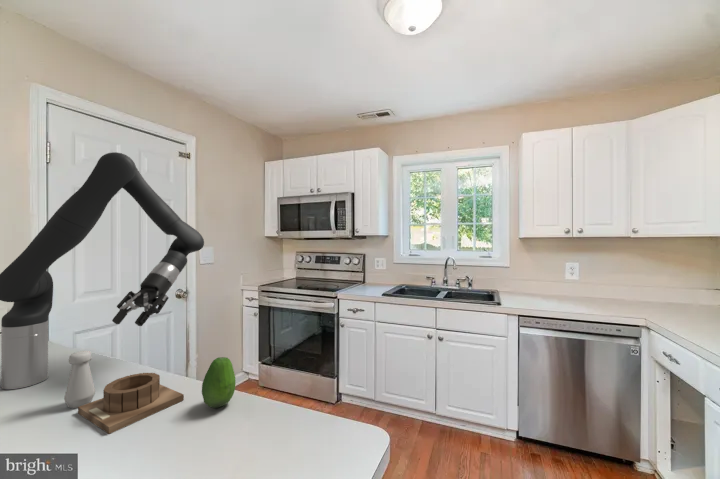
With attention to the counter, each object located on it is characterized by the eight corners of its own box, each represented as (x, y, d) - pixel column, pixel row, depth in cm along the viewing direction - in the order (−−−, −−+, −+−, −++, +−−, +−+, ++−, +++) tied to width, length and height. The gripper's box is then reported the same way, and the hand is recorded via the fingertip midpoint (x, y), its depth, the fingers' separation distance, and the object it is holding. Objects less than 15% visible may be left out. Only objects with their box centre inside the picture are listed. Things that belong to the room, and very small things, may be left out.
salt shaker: (76, 411, 74) (76, 357, 74) (57, 408, 75) (58, 355, 75) (101, 399, 80) (101, 349, 80) (83, 397, 81) (83, 347, 81)
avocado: (241, 404, 77) (241, 356, 77) (208, 418, 71) (208, 366, 71) (227, 394, 83) (227, 349, 83) (196, 405, 77) (196, 357, 77)
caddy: (78, 413, 73) (78, 388, 73) (150, 385, 87) (150, 364, 87) (109, 434, 65) (109, 405, 65) (183, 400, 79) (183, 377, 79)
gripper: (136, 271, 99) (98, 315, 88) (171, 272, 96) (136, 318, 85) (151, 285, 104) (117, 328, 93) (185, 286, 101) (154, 332, 90)
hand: (126, 323), depth 89 cm, fingers open, 8 cm apart
